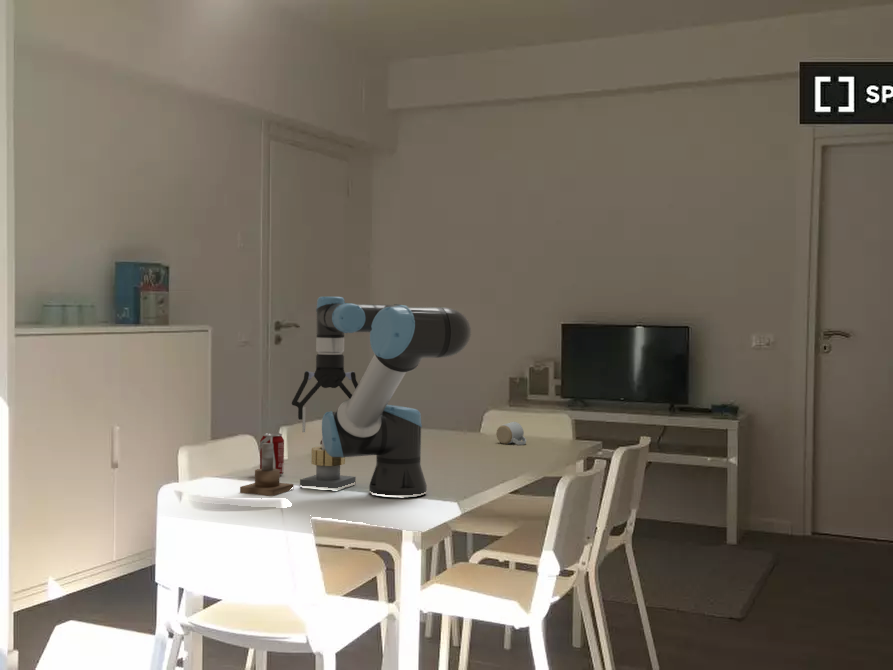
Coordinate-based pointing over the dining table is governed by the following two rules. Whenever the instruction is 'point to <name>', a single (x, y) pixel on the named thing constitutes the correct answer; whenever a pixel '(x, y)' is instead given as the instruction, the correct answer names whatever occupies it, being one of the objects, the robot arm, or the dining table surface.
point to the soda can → (274, 450)
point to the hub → (327, 477)
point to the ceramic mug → (511, 434)
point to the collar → (325, 458)
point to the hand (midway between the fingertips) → (329, 431)
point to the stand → (266, 476)
